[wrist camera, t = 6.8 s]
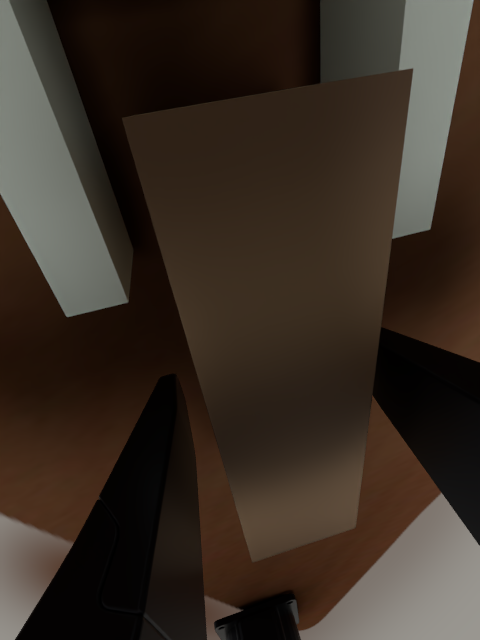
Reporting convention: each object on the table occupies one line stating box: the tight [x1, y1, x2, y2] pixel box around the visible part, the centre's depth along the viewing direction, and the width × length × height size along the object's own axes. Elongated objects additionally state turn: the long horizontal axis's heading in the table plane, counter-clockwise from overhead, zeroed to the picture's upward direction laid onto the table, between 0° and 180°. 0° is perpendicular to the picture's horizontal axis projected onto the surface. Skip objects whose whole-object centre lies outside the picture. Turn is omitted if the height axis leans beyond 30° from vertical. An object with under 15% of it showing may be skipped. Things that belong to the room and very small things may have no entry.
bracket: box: [0, 0, 473, 317], centre depth 6 cm, size 6×8×3 cm
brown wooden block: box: [122, 68, 413, 563], centre depth 9 cm, size 12×4×5 cm, turn 8°
